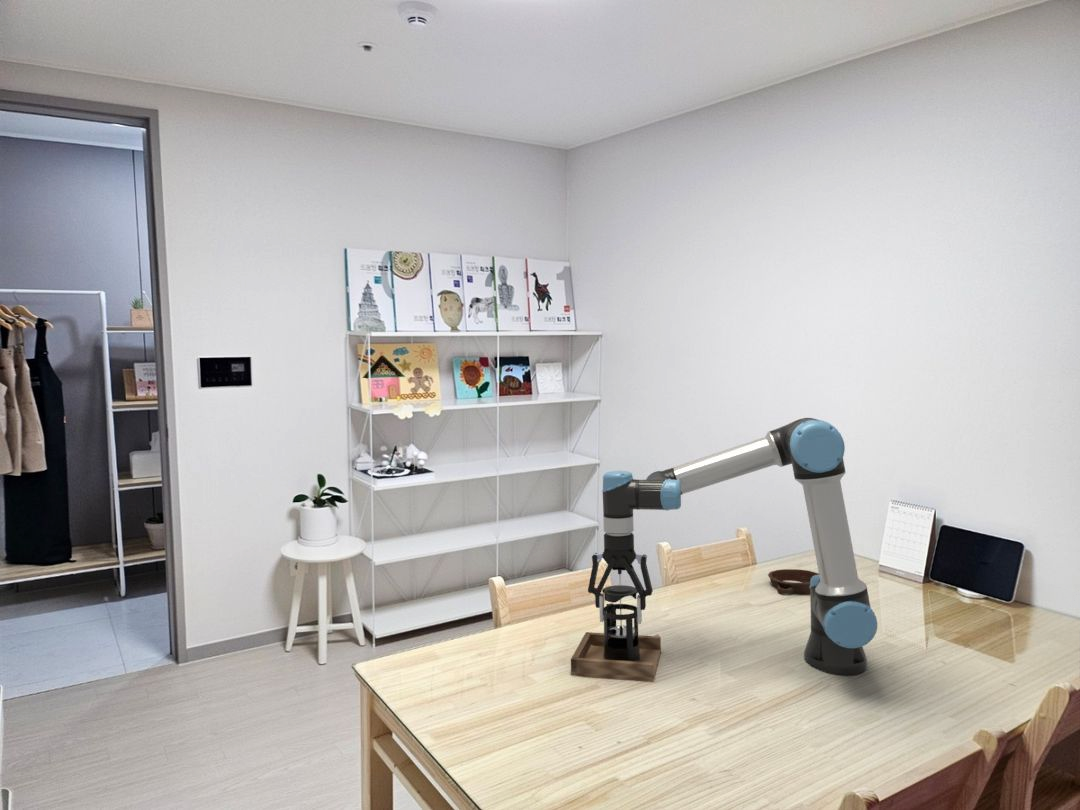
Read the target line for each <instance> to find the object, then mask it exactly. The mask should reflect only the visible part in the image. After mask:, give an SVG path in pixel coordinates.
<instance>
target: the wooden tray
mask: <svg viewBox="0 0 1080 810" xmlns="http://www.w3.org/2000/svg"><path fill="white" fill-rule="evenodd" d="M608 639H609V638H608ZM633 639H634V637H633ZM638 641H639V652H640V658H639V659H638V660H636V661H619V660H607V659H605V658H604V656H603V653H604V632H591V631H588V632H587V631H585V632H584V635H583V637H582V638H581V641H580V642H579V644H578V646H577V647H576V650H575V651H574V653H573V654H572V656H571V658H570V675H571V676H575V677H584V678H585V677H586V678H597V679H599V678H600V679H610V680H611V679H612V680H625V681H626V680H627V681H639V682H652V683H653V682H654V681H655V677H656V673H657V669H658V665H659V660H660V656H661V653H662V651H661V650H662V648H661V647H662V646H661V644H662V643H661V642H662V638H661V636H660V635H659V636H655V635H641V634H640V635H639V634H638Z"/></svg>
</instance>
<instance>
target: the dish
mask: <svg viewBox="0 0 1080 810" xmlns="http://www.w3.org/2000/svg"><path fill="white" fill-rule="evenodd" d="M814 575H819V572H815V571H811V570H807V569H798V568H796V569H792V568H791V569H790V568H789V569H787V568H786V569H777V570H771V571H769V572H768V574H767V576H768V577H769V579H770V582H771V585H772V587H773V588H775V589H777V592H778V593H780V594H781V595H782V594H783V595H790V594H793V595H808V594H809V595H810V588H809V586H810V580H811V578H812V577H813V576H814Z"/></svg>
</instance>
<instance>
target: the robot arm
mask: <svg viewBox="0 0 1080 810" xmlns="http://www.w3.org/2000/svg"><path fill="white" fill-rule="evenodd" d="M845 449H846V448H845V441H844V437H843V436H842V434H841V432H840V431H839V430H838V429H837V428H836V427H835V426H834V425H832V424H831V423H830V422H827V421H825V420H822V419H817V418H813V417H804V418H799V419H796V420H793V421H792V422H789V423H788V424H785V425H784V426H783V425H782V426H780V427H777V428H776V429H772V430H770V431H767V433H766V435H765V436H764V437H761V438H757V439H754V440H752V441H750V442H746V443H743V444H740V445H737V446H733V447H731V448H728V449H727V448H726V449H725V450H722V451H719V452H718V451H717V452H716V453H713V454H709V455H707V456H703V457H700V458H697V459H695V460H692V461H689V462H685V463H683V464H679V465H676V466H673V467H671V468H668V469H664V470H656V471H654V472H652V473H650V474H649V475H648V476H647V477H646V479H634V477H633V472H631V471H627V470H612V471H607V472H605V473H604V474H603V475H602V491H601V492H602V510H603V511H602V512H603V516H602V517H603V532H604V534H603V547H604V548H603V552H602V553H597V552H595V553H593V555H592V556H591V560H592V561H591V562H592V568H591V572H590V578H589V583H588V586H587V587H588V588H587V593H589V594H593V595H594V598H595V608H596V609H599V622H600V623H604V615H603V608H604V607H605V599H604V593H603V589H604V588H605V587H604V586H605V584H606V582H607V580H608V578H609V576H610V574H611V571H615V570H614V569H612V568H616V567H620V568H625V570H624V571H626V572H627V574H628V575H629V578H630V580H631V582H632V583H633V585H634V586H633V587H635V588H636V589H637V591H638V593H637V596H636V607H637V620H638V625H640V624H642V622H643V617H642V614H643V613H642V611H645V610H646V607H647V604H646V601H647V599H646V597H648V596H649V597H650V596H652V595H653V591H654V590H653V585H652V582H651V577H650V574H649V569H648V565H647V560H648V555H646V553H645V554H636V553H637V552H635V535H634V533H633V532H634V525H635V524H634V510H639V511H640V510H649V511H650V510H652V511H653V510H654V511H655V510H656V511H657V510H658V511H660V510H661V511H671V510H680V508H681V506H682V495H684V494H687V493H690V492H694V491H697V490H700V489H703V488H706V487H709V486H714V485H715V484H718V483H722V482H725V481H728V480H731V479H735V478H737V477H740V476H743V475H747V474H750V473H753V472H757V471H760V470H762V469H763V470H764V469H766V468H769V467H772V466H778V467H780V468H782V467H786V466H789V465H791V466H792V471H793V476H794V480H795V481H797V482H798V483H799V484H801V485H802V489H803V494H804V500H805V504H806V505H805V506H806V511H807V516H808V517H807V518H808V521H809V527H810V532H811V537H812V542H813V544H812V545H813V548H814V554H815V560H816V565H817V569H818V570H817V571H818V573H819V575H814V576H813V577H812V578H811V580H810V586H809V588H810V594H809V595H810V597H809V598H810V599H809V600H810V633H809V637H808V640H807V642H806V645H805V647H804V648H805V649H804V652H803V659H804V661H805V663H806V664H807V665H809V666H810V667H812V668H813V669H815V670H817V671H820V672H822V673H825V674H830V675H840V676H850V675H858V674H861V673H864V672H865V671H866V670H867V669H868V659H867V655H866V653H865V649H864V646H866V645H868V644H869V643H870V642H871V641H872V640H873V638H875V636H876V634H877V632H878V620H877V616H876V614H875V612H874V610H873V609H872V608H871V601H870V596H869V593H868V592H869V591H868V587H867V586H868V585H867V583H865V582H864V581H863V580H861V579H860V578H859V575H858V569H857V566H856V565H857V564H856V559H855V554H854V547H853V543H852V542H853V541H852V538H851V537H852V536H851V532H850V526H849V520H848V515H847V510H846V505H845V499H844V494H843V488H842V484H841V483H842V482H841V480H842V478H843V477H844V475H845V474H846V473H847V472H846V467H845V461H844V456H845ZM602 559H603V560H604V561H605V563H606V564H607V567H606V568H605V571H604V573H603V575H602V576H601V579H600V582H599V583H598V585H597V587H595V586H596V581H597V576H598V575H597V574H598V571H599V565H600V563H601V561H602ZM635 560H636V561H637V563H638V564H639V565H640V566H639V567H640V570H641V575H642V579H643V582H644V586H643V584H642V582H641V580H640V578H639V577H638V575H637V573H636V571H635V567H634V566H633V563H634V561H635Z"/></svg>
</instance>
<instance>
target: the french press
mask: <svg viewBox="0 0 1080 810" xmlns="http://www.w3.org/2000/svg"><path fill="white" fill-rule="evenodd" d="M613 569H614V570H613ZM612 570H613V571H617V574H618V578H619V579H618V580H619V581H618V583H619V585H611V586H610V585H609V586H605V587H603V589H602V593H603V594H604V601H606V602H609V603H606V604H605V605H604V608H603V615H604V621H603V633H604V653H603V656H604V658H605V659H607V660H619V661H636V660H638V659H639V658H640V652H639V641H638V635H639V624H638V620H637V605H636V606H635V605H633V604H629V603H628V604H627V603H622V599H623V598H625V597H632V598H633V599H635V600H637V594H639V593H638V591H637V589H636V588H635V586H630V585H623V584H622V583H621V582H622V581H621V577H622V576H621V575H622V574H623V573H622V571H626V570H625V568H620V567H616V568H612ZM617 602H619V603H617ZM617 610H619V614H617ZM622 610H628V611H629V610H630V611H633V612H631V613H625V614H622ZM617 621H619V622H620V623H619V624H620V625H617ZM623 621H625V625H623V623H622V622H623ZM633 637H634V639H633ZM608 638H609V639H608Z"/></svg>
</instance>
